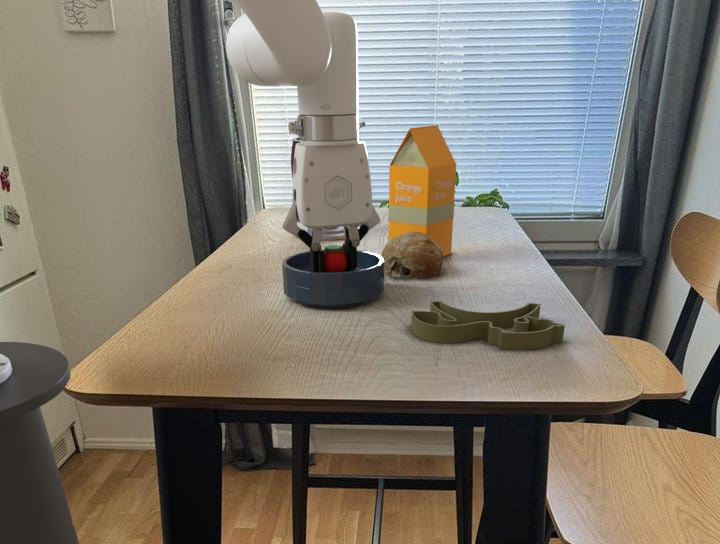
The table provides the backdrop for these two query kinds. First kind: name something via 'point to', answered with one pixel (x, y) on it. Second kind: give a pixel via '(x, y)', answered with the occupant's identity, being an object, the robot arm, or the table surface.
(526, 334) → the cookie cutter
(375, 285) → the bowl
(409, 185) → the orange juice
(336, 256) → the red green jar
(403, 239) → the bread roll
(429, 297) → the table surface
